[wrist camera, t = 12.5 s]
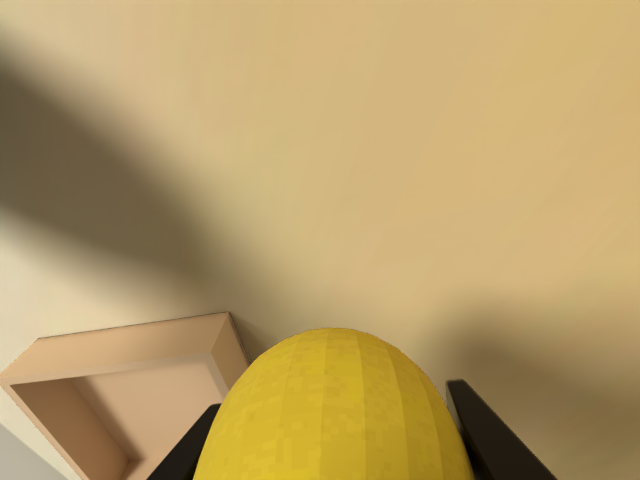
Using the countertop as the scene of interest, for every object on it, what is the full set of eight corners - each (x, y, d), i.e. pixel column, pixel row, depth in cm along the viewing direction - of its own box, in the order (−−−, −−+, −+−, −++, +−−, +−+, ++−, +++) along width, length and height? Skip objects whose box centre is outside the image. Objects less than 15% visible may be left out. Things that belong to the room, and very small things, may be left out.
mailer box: (38, 338, 25) (-6, 379, 21) (228, 311, 23) (210, 352, 19) (128, 460, 31) (104, 505, 28) (284, 447, 29) (277, 495, 26)
